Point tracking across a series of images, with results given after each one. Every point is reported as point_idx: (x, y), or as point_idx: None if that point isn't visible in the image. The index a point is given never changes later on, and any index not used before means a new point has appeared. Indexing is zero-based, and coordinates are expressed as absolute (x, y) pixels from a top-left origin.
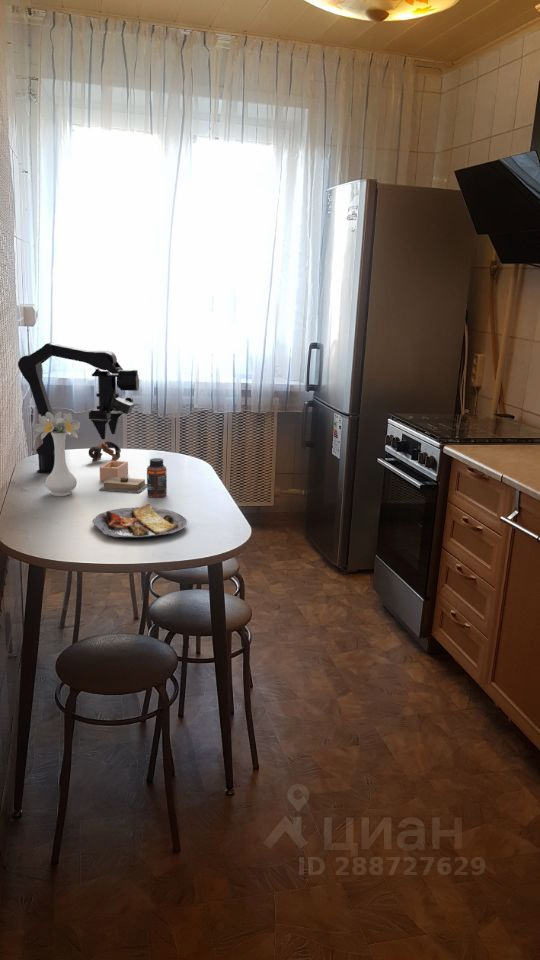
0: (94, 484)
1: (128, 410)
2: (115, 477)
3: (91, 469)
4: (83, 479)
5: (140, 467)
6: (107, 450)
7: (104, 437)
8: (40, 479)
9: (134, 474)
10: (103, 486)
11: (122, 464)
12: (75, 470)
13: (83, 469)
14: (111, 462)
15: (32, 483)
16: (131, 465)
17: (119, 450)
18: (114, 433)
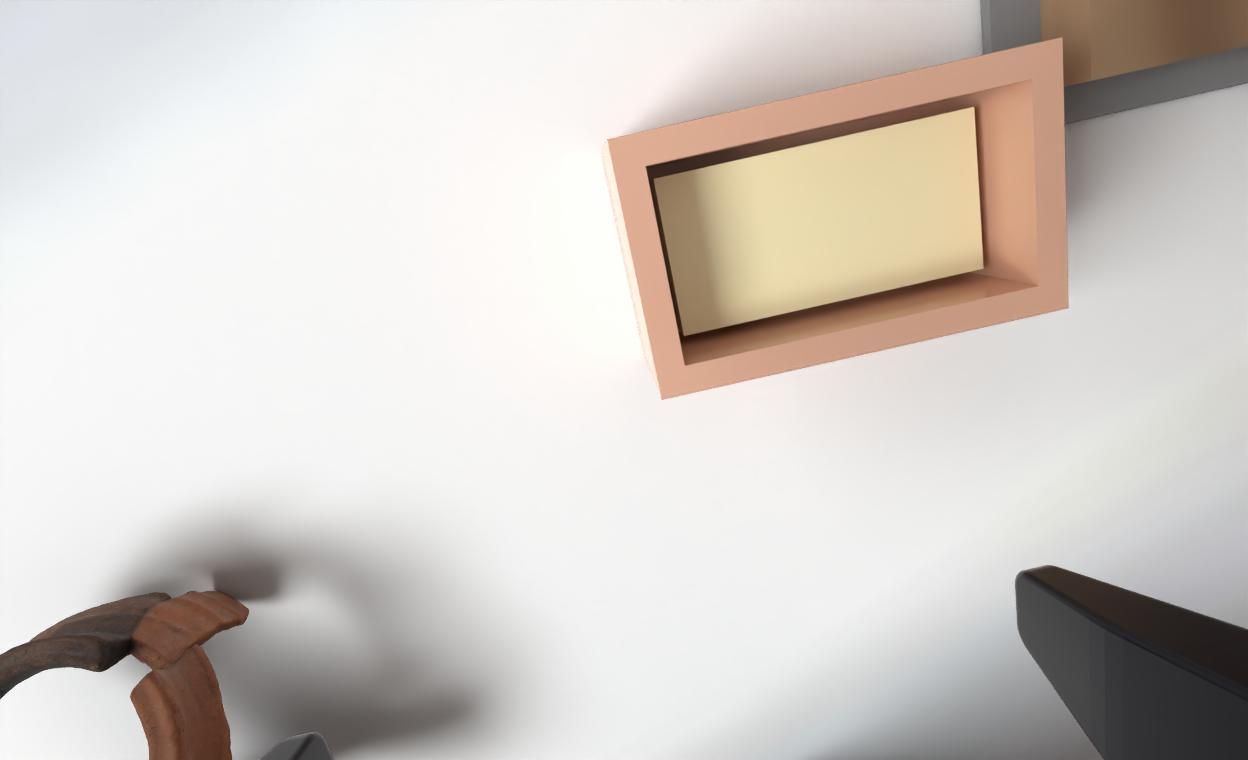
0: (1108, 251)
1: None
2: (1098, 23)
3: (580, 617)
4: (961, 458)
5: (199, 223)
6: (197, 745)
7: (1099, 585)
8: (1076, 745)
9: (542, 94)
10: (1230, 78)
11: (798, 115)
12: (685, 707)
13: (617, 674)
14: (704, 357)
15: None
16: (185, 373)
17: (15, 670)
18: (314, 742)
